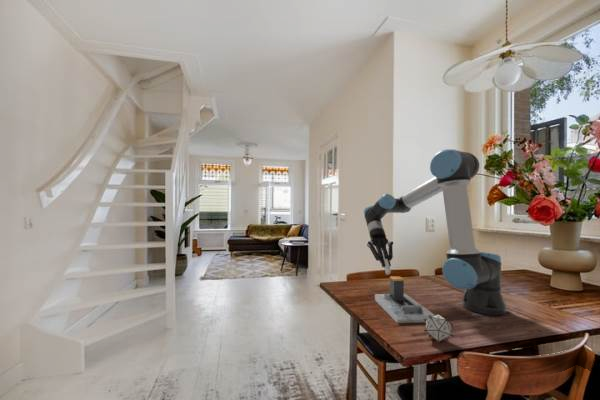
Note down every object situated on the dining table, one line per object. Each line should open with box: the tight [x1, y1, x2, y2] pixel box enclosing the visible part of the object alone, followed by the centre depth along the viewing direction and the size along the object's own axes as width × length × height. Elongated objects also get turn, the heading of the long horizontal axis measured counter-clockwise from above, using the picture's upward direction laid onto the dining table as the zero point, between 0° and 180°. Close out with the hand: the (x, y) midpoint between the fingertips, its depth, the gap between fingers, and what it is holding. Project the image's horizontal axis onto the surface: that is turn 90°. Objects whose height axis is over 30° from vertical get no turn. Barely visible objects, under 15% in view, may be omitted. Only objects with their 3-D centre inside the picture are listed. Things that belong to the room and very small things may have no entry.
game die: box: [423, 311, 455, 345], centre depth 87 cm, size 9×8×10 cm
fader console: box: [374, 292, 435, 324], centre depth 112 cm, size 24×14×4 cm, turn 4°
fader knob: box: [389, 275, 405, 301], centre depth 117 cm, size 5×5×9 cm
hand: (388, 272), depth 126 cm, fingers closed
